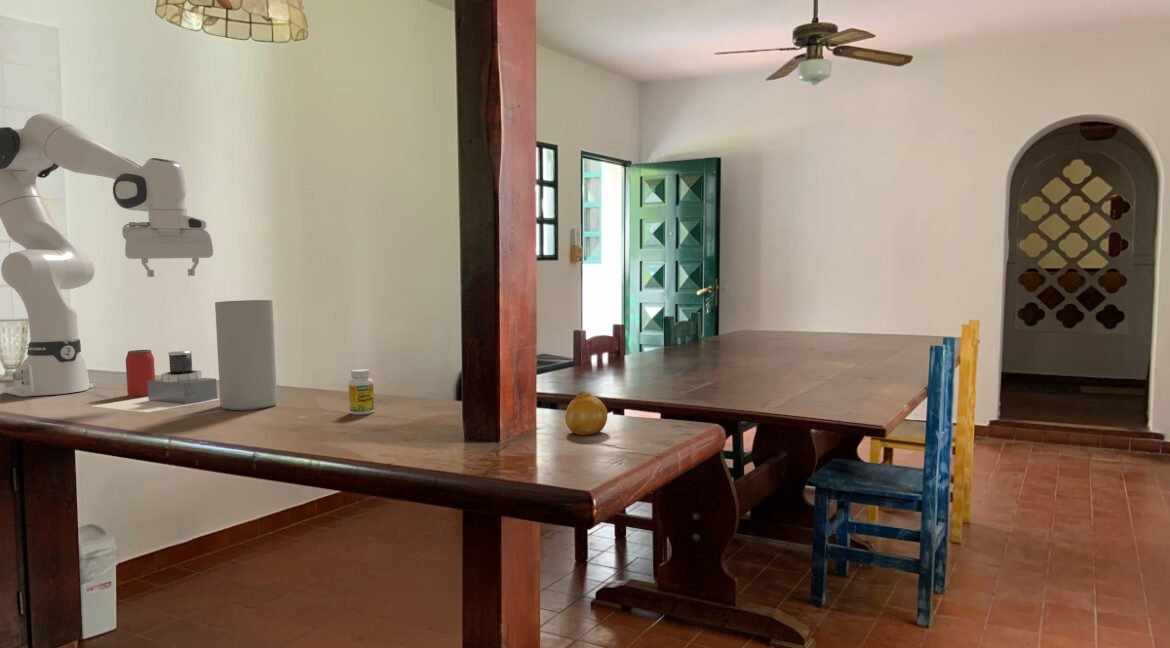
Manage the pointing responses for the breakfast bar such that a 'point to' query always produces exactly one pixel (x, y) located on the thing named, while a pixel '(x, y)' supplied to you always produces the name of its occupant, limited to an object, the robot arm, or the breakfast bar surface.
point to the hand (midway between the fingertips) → (171, 276)
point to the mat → (144, 405)
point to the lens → (180, 362)
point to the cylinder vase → (246, 354)
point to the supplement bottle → (361, 392)
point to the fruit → (586, 414)
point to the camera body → (182, 388)
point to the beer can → (139, 372)
